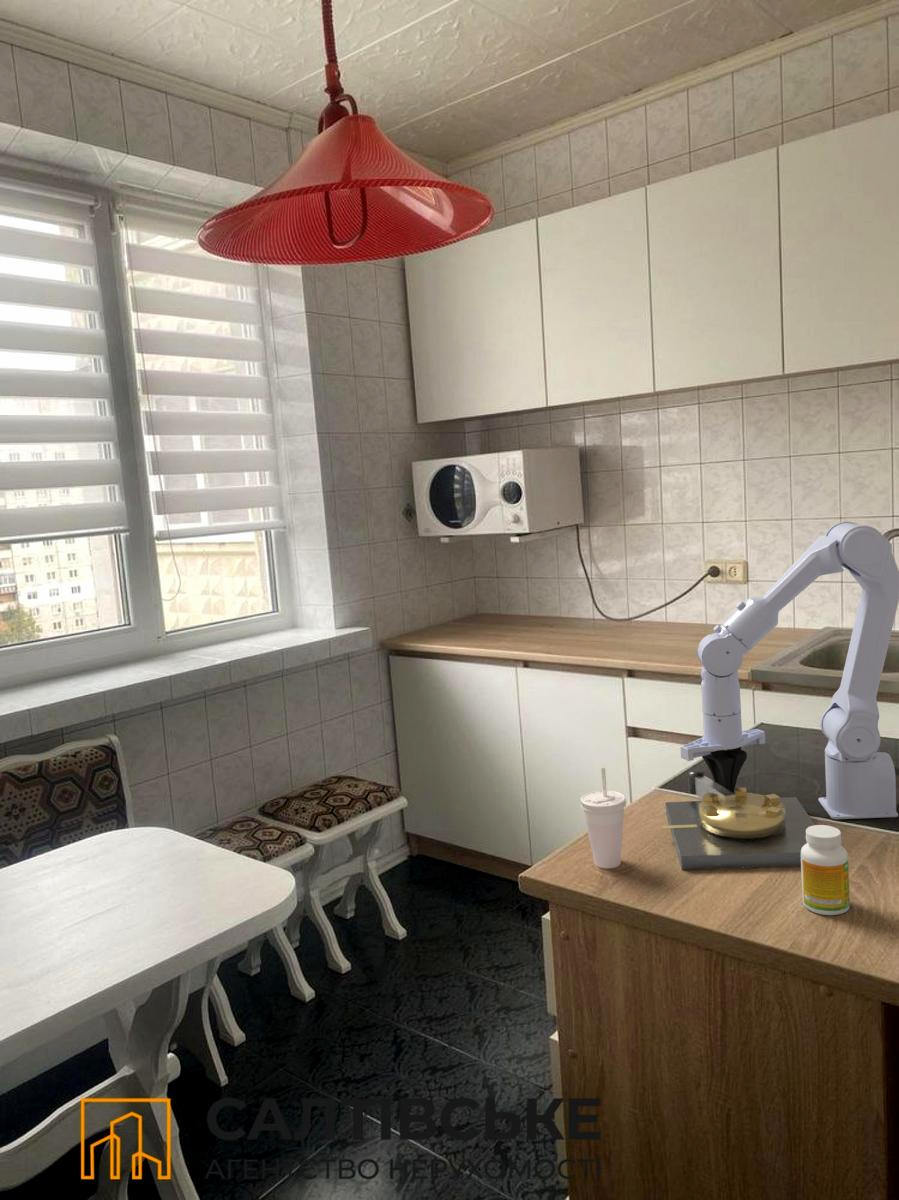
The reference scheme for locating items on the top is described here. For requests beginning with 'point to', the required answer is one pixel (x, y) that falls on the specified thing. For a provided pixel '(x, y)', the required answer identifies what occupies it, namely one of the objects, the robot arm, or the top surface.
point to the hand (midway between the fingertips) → (725, 795)
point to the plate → (736, 840)
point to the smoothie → (605, 824)
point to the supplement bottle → (825, 871)
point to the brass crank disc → (736, 809)
